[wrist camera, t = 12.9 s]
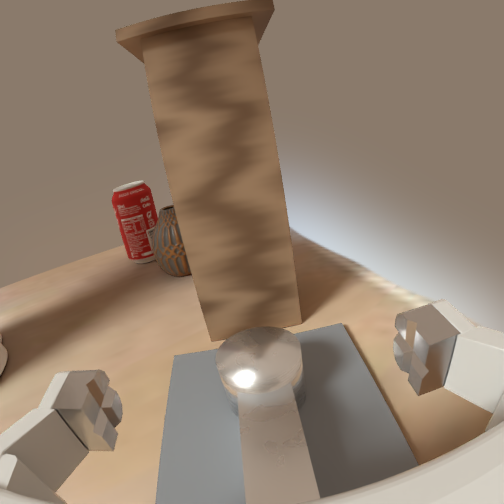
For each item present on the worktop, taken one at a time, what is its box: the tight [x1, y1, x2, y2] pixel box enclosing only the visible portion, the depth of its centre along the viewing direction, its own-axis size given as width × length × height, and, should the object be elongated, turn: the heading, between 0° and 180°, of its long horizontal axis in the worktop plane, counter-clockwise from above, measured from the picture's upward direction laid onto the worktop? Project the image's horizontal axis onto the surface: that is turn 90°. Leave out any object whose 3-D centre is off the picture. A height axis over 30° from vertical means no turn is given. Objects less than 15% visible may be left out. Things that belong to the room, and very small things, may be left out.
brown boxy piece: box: [115, 0, 302, 341], centre depth 27 cm, size 11×12×28 cm
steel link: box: [215, 326, 320, 504], centre depth 13 cm, size 5×18×4 cm, turn 5°
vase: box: [152, 205, 191, 277], centre depth 42 cm, size 7×7×9 cm
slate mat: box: [155, 323, 419, 504], centre depth 16 cm, size 14×20×1 cm
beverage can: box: [112, 181, 158, 264], centre depth 48 cm, size 6×6×12 cm
